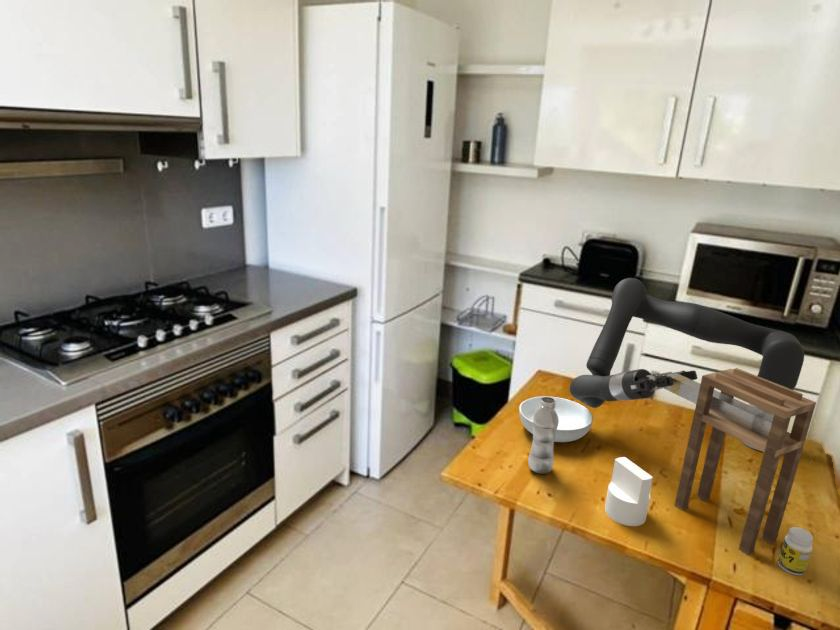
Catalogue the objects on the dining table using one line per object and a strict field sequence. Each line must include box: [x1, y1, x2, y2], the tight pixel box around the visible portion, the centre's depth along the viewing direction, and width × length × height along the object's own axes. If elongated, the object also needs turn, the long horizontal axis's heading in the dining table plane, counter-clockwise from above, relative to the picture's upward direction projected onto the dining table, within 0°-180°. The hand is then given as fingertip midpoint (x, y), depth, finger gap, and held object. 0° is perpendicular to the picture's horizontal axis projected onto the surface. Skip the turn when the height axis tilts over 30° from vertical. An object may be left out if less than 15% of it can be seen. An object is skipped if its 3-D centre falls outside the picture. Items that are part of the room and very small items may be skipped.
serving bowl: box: [518, 395, 594, 443], centre depth 160 cm, size 21×21×7 cm
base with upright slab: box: [604, 456, 654, 527], centre depth 125 cm, size 9×9×12 cm
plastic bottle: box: [527, 396, 559, 475], centre depth 139 cm, size 6×7×20 cm
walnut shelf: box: [674, 367, 817, 556], centre depth 119 cm, size 10×18×35 cm, turn 28°
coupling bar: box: [663, 372, 774, 438], centre depth 122 cm, size 4×26×4 cm, turn 28°
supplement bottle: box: [777, 526, 814, 576], centre depth 111 cm, size 5×5×8 cm
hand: (683, 377), depth 130 cm, fingers open, 8 cm apart
